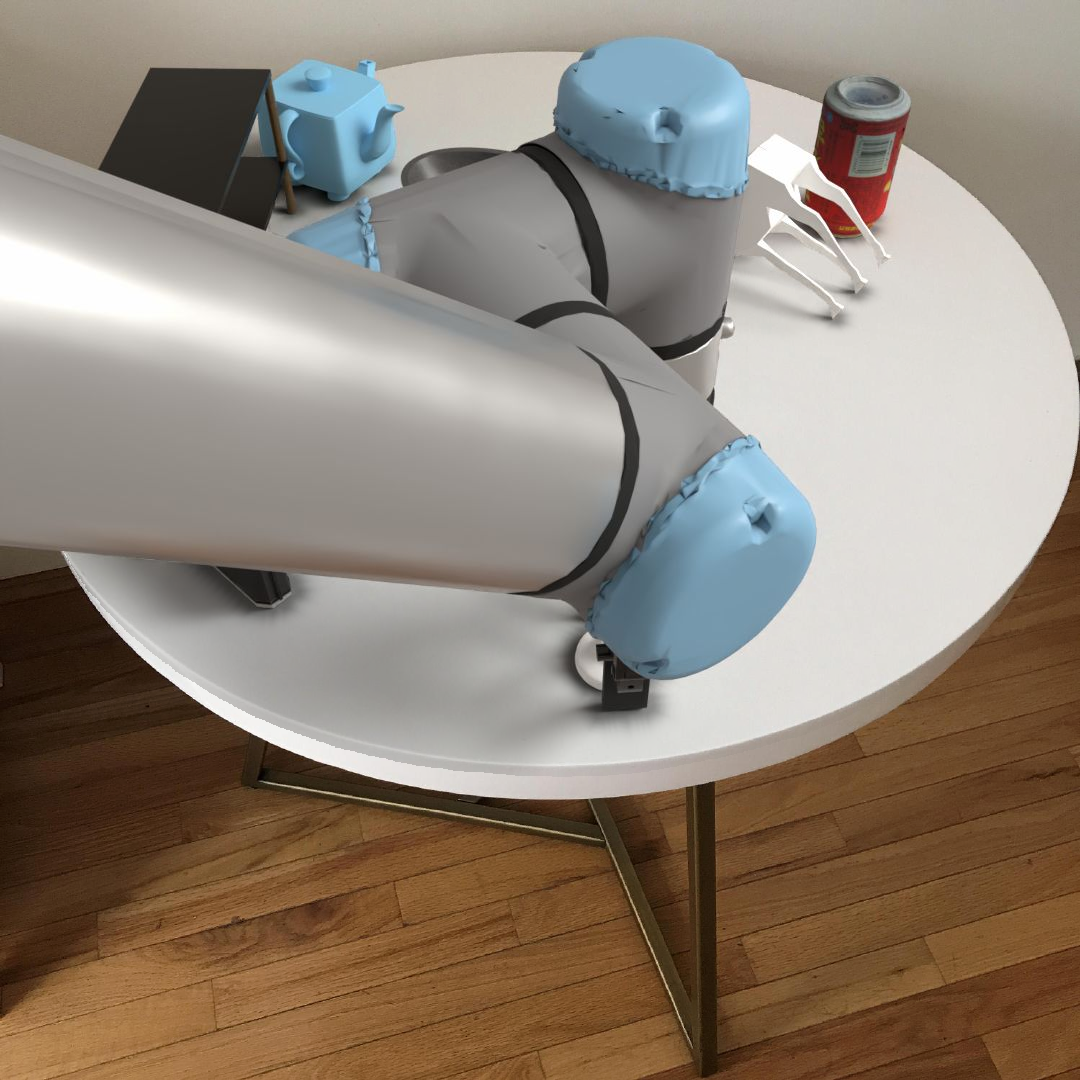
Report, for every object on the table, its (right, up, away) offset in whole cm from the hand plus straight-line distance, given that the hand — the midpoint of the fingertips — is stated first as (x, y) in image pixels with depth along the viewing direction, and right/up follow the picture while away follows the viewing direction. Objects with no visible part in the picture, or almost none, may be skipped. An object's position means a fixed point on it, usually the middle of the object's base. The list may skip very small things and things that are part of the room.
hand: (617, 657), depth 72 cm
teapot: (-24, +42, +37) cm, 61 cm away
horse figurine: (+11, +32, +28) cm, 44 cm away
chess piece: (0, 0, 0) cm, 1 cm away
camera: (-25, +7, +7) cm, 27 cm away
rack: (-32, +28, +25) cm, 50 cm away
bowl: (-6, +31, +27) cm, 42 cm away
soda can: (+22, +36, +31) cm, 52 cm away
